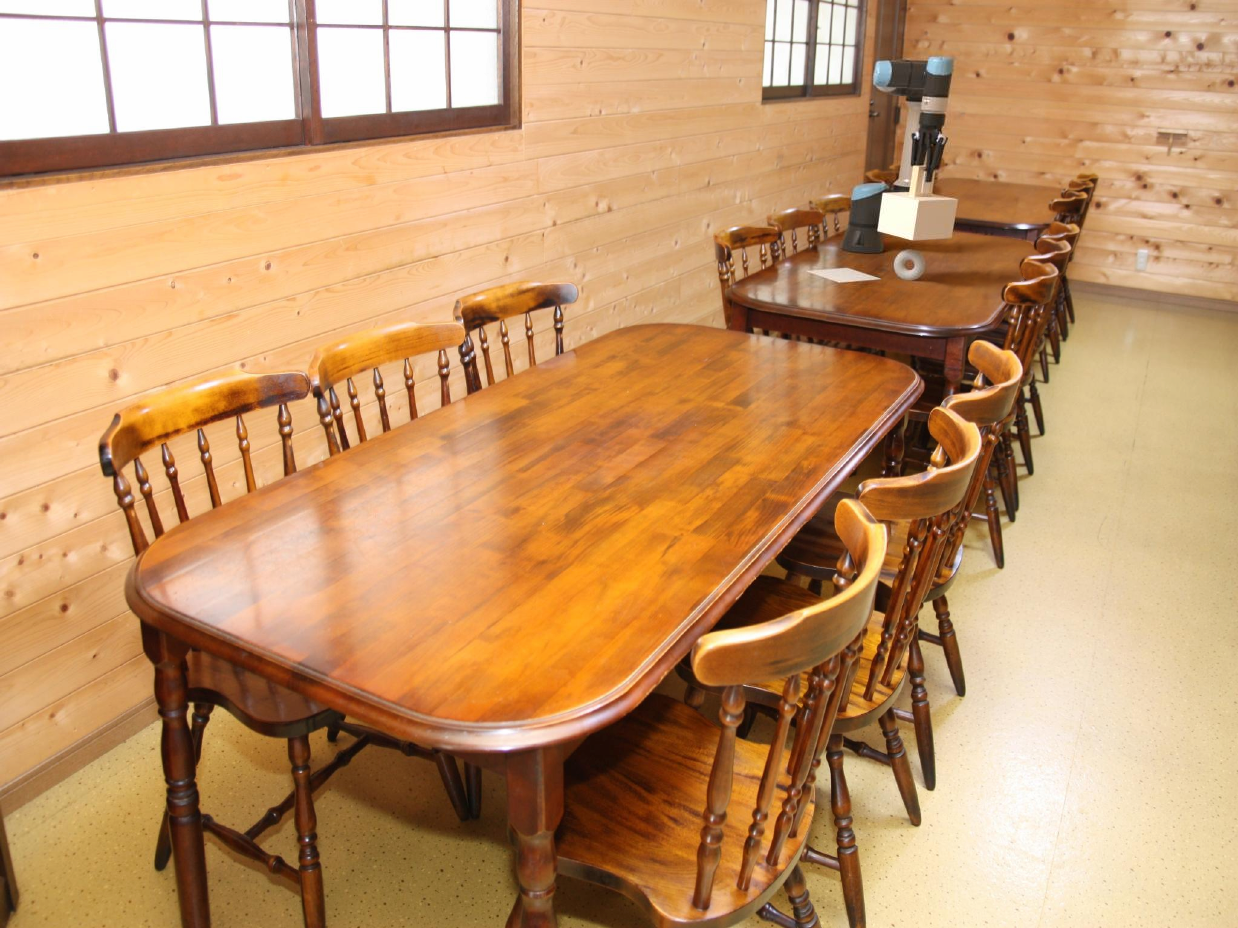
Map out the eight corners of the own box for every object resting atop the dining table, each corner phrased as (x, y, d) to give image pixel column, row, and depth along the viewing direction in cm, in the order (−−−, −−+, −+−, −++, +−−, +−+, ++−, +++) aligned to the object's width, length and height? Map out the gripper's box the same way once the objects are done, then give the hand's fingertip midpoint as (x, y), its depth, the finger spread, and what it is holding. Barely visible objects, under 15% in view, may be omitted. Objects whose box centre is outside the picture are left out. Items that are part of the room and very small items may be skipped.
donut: (890, 279, 330) (894, 247, 326) (893, 277, 333) (898, 246, 329) (920, 284, 325) (925, 252, 321) (924, 282, 328) (929, 250, 324)
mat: (805, 272, 333) (805, 270, 333) (846, 269, 341) (847, 267, 341) (839, 284, 320) (839, 282, 320) (881, 280, 327) (881, 278, 327)
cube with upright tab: (877, 231, 326) (887, 163, 318) (915, 228, 333) (925, 162, 325) (912, 240, 313) (923, 169, 305) (951, 238, 320) (963, 169, 312)
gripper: (905, 109, 314) (894, 188, 323) (942, 114, 301) (929, 196, 310) (924, 110, 317) (912, 188, 326) (961, 114, 305) (948, 195, 314)
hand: (920, 192), depth 318 cm, fingers closed on cube with upright tab, 2 cm apart
